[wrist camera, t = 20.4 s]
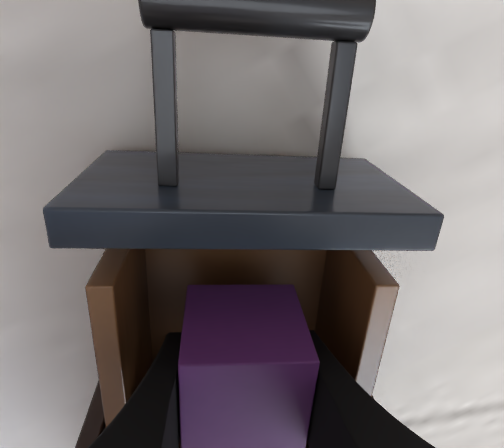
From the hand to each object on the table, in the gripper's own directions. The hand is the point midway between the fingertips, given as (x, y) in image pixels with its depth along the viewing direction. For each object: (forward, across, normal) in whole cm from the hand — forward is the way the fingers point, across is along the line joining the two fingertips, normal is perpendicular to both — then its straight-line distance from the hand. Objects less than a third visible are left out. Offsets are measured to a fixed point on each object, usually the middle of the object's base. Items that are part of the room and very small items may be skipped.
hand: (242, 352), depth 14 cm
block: (+1, 0, 0) cm, 1 cm away
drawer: (+5, 0, -3) cm, 6 cm away
